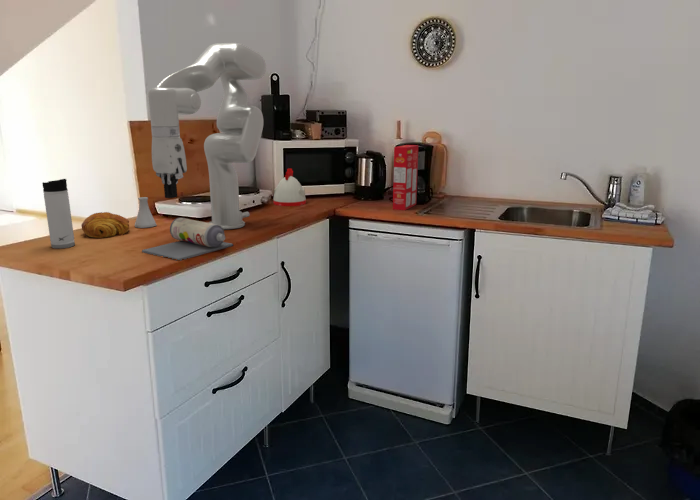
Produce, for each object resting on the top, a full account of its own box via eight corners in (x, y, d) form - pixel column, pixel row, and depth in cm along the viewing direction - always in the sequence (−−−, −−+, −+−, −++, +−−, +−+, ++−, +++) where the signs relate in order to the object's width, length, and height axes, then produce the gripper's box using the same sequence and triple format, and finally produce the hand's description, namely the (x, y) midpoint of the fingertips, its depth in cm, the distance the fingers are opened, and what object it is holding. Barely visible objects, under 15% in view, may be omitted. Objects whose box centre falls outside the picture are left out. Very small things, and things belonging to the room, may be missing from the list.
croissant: (79, 246, 168) (75, 222, 165) (87, 229, 181) (83, 206, 178) (129, 242, 171) (125, 219, 168) (133, 225, 185) (129, 203, 182)
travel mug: (66, 249, 156) (57, 180, 150) (46, 248, 157) (36, 180, 151) (80, 244, 161) (72, 177, 156) (61, 243, 163) (51, 177, 157)
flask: (140, 229, 181) (138, 200, 179) (130, 226, 186) (127, 197, 183) (160, 226, 186) (158, 197, 184) (150, 223, 191) (147, 195, 188)
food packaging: (404, 203, 231) (406, 144, 225) (416, 204, 229) (418, 145, 223) (392, 209, 218) (394, 147, 212) (404, 210, 216) (406, 147, 210)
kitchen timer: (309, 201, 236) (309, 167, 232) (300, 206, 223) (299, 170, 219) (280, 200, 239) (279, 166, 235) (268, 205, 226) (267, 169, 223)
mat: (197, 238, 169) (197, 236, 169) (233, 245, 160) (233, 243, 160) (142, 252, 153) (141, 250, 153) (178, 260, 144) (178, 258, 144)
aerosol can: (165, 229, 160) (209, 238, 149) (179, 213, 163) (223, 221, 152) (178, 244, 165) (222, 254, 153) (192, 227, 168) (235, 236, 157)
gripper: (194, 133, 150) (198, 198, 155) (160, 132, 158) (165, 193, 163) (171, 134, 144) (177, 201, 149) (138, 133, 152) (144, 196, 157)
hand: (171, 197), depth 156 cm, fingers closed
